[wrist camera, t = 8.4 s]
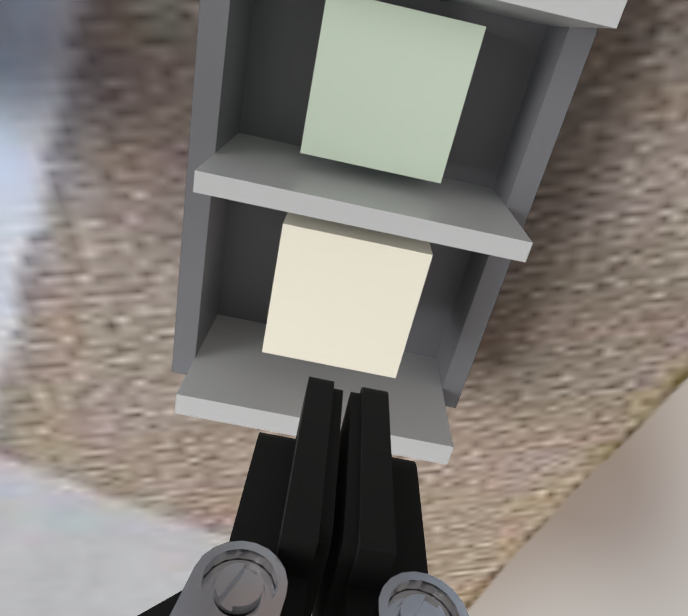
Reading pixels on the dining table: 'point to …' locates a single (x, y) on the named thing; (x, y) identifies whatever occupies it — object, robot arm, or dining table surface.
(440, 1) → the slotted cube rack
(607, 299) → the dining table surface
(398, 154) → the key sage
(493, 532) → the dining table surface
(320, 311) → the cream block
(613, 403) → the dining table surface
